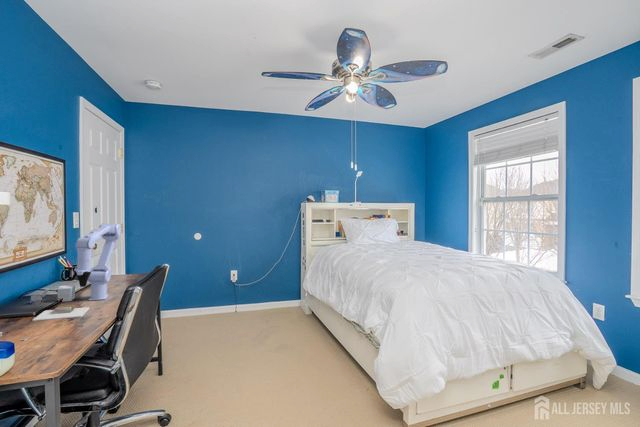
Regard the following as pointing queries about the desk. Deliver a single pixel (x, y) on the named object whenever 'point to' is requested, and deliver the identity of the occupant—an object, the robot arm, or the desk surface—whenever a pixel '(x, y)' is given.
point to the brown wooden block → (65, 308)
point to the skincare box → (66, 293)
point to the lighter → (39, 297)
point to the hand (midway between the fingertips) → (83, 286)
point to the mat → (61, 314)
